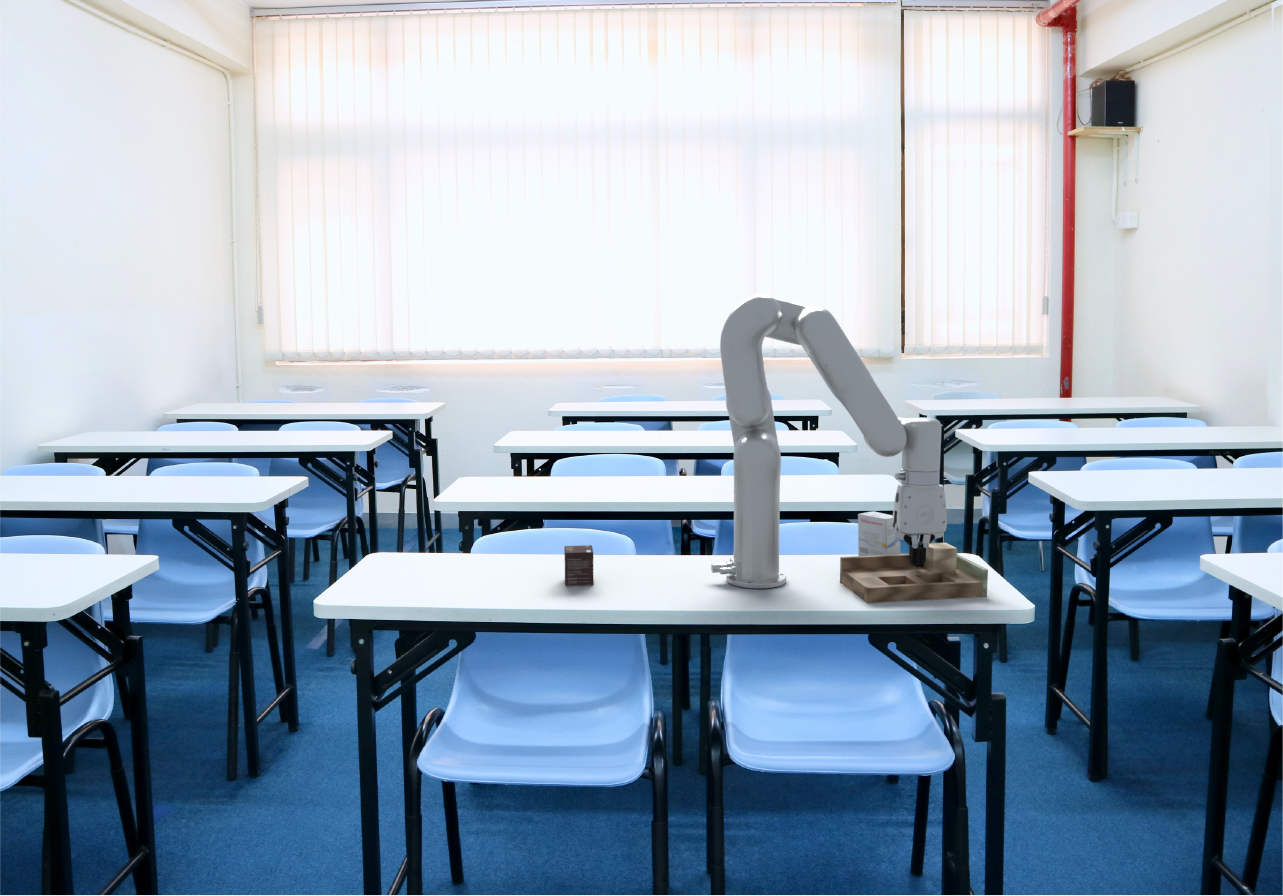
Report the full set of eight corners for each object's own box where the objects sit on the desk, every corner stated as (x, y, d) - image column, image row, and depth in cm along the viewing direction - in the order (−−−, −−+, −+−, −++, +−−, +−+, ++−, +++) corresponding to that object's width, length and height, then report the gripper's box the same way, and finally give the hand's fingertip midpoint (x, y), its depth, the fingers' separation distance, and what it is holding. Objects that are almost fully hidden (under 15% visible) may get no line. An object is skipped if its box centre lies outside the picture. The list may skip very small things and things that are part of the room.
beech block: (933, 573, 199) (933, 549, 198) (922, 566, 204) (923, 543, 203) (956, 571, 200) (956, 548, 199) (945, 565, 205) (945, 542, 204)
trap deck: (866, 603, 189) (867, 575, 188) (839, 582, 204) (840, 557, 203) (986, 596, 192) (988, 569, 192) (952, 577, 207) (952, 551, 206)
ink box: (901, 569, 214) (903, 516, 212) (885, 572, 211) (886, 519, 210) (872, 561, 221) (873, 510, 220) (856, 564, 218) (857, 513, 217)
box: (564, 579, 208) (564, 545, 207) (592, 578, 209) (592, 544, 208) (565, 586, 202) (564, 552, 201) (593, 585, 203) (593, 551, 202)
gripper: (892, 482, 194) (889, 571, 196) (963, 480, 196) (959, 568, 198) (878, 476, 201) (875, 562, 203) (946, 474, 203) (943, 559, 206)
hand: (917, 565), depth 201 cm, fingers closed
